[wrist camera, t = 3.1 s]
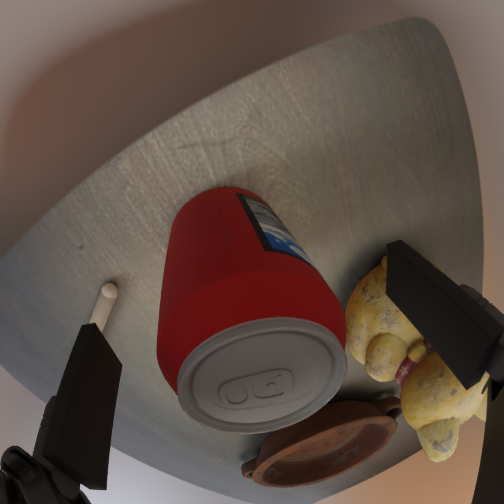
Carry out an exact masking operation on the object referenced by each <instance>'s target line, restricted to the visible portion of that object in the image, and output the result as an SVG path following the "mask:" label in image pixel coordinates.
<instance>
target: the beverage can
mask: <svg viewBox="0 0 504 504" xmlns="http://www.w3.org/2000/svg"><path fill="white" fill-rule="evenodd" d="M346 333H347V326H346V318H345V314H344V310H343V308H342V306H341V304H340V302H339V300H338V299H337V297H336V296H335V294H334V293H333V292H332V290H331V289H330V287H329V286H328V284H327V283H326V281H325V280H324V279H323V277H322V276H321V274H320V273H319V271H318V270H317V269H316V267H315V266H314V264H313V263H312V261H311V260H310V259H309V257H308V256H307V255H306V253H305V252H304V251H303V249H302V248H301V247H300V245H299V244H298V243H297V241H296V240H295V238H294V237H293V236H292V235H291V233H290V232H289V231H288V229H287V228H286V227H285V226H284V224H283V223H282V222H281V220H280V219H279V218H278V217H277V215H276V214H275V213H274V212H273V210H272V209H271V208H270V207H269V206H268V204H267V203H266V202H265V201H263V200H262V199H261V198H260V197H258V196H257V195H255V194H253V193H251V192H249V191H246V190H243V189H239V188H232V187H222V188H215V189H211V190H208V191H205V192H203V193H201V194H199V195H197V196H195V197H194V198H192V199H191V200H190V201H188V202H187V203H186V204H185V205H184V206H183V207H182V209H181V210H180V211H179V213H178V214H177V216H176V218H175V220H174V222H173V225H172V228H171V233H170V238H169V243H168V249H167V255H166V261H165V268H164V275H163V283H162V291H161V300H160V310H159V322H158V335H157V359H158V364H159V366H160V369H161V371H162V374H163V376H164V377H165V379H166V380H167V382H168V383H169V385H170V386H171V388H172V389H173V390H174V392H175V393H176V394H177V396H178V399H179V402H180V405H181V407H182V409H183V410H184V411H185V413H186V414H187V415H188V416H189V417H190V418H191V419H192V420H194V421H195V422H197V423H198V424H200V425H202V426H204V427H206V428H209V429H212V430H215V431H219V432H223V433H230V434H257V433H264V432H270V431H274V430H278V429H281V428H284V427H287V426H290V425H293V424H295V423H297V422H299V421H301V420H303V419H305V418H307V417H309V416H311V415H312V414H314V413H315V412H317V411H318V410H319V409H321V408H322V407H323V406H324V405H326V404H327V403H328V402H329V401H330V400H331V399H332V398H333V396H334V395H335V394H336V393H337V391H338V390H339V388H340V387H341V385H342V383H343V381H344V379H345V376H346V372H347V357H346V354H345V344H346Z"/></svg>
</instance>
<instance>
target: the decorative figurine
mask: <svg viewBox="0 0 504 504" xmlns="http://www.w3.org/2000/svg"><path fill="white" fill-rule="evenodd" d="M431 264H432V263H431ZM434 266H435V265H434ZM435 267H436V266H435ZM436 268H438V267H436ZM438 269H439V268H438ZM439 270H440V269H439ZM386 271H387V255H386V256H384V257H383V258H382V261H381V263H380V265H378V266H376V267H375V268H373V269H372V270H371V271H370V272H369V273H368V274H367V275H366V276H364V277H361V278H360V279H358V280H357V284H356V285H357V286H356V287H355V289H354V290H353V292H352V294H351V295H350V298H349V300H348V302H347V305H346V308H345V318H346V326H347V333H346V341H347V344H348V347H349V350H350V352H351V354H352V355H353V357H354V358H355V359H356V360H358V361H359V362H360V363H362V364H365V365H366V370H367V373H368V374H369V375H370V376H371V377H372V378H373V379H375V380H377V381H379V382H388V381H391V380H394V379H395V380H396V382H397V383H398V385H400V386H402V388H401V395H400V399H401V410H402V413H403V415H404V418H405V419H406V421H407V422H408V424H410V425H411V426H412V427H413V428H414V429H415V430H416V431H417V435H418V438H419V440H420V443H421V446H422V448H423V450H424V453H425V454H426V456H427V457H428V458H429V459H430V460H431V461H433V462H442V461H444V460H446V459H448V458H449V457H450V456H451V455H452V453H453V452H454V451H455V448H456V446H457V442H458V437H459V425H461V424H463V423H464V422H465V421H467V420H468V419H469V418H470V417H472V415H476V416H477V417H478V418H480V419H481V420H483V421H484V422H486V410H487V389H486V391H485V392H484V394H481V392H482V389H483V387H484V385H485V383H486V382H487V380H488V378H489V376H490V375H489V374H488V373H487V372H486V371H485V373H484V375H483V377H482V379H481V381H480V382H478V383H477V384H476V385H474V386H473V387H471V388H470V389H468V390H467V391H466V389H465V388H464V387H463V385H462V384H461V383H460V382H459V380H458V379H457V378H456V377H455V375H454V374H453V373H452V371H451V370H450V369H449V368H448V366H447V365H446V364H445V363H444V361H443V360H442V359H441V358H440V357H439V355H438V354H437V353H436V352H435V350H434V349H433V348H432V347H431V346H430V344H429V343H428V342H427V341H426V340H425V339H424V337H423V336H422V335H421V334H420V333H419V331H418V330H417V329H416V328H415V327H414V326H413V324H412V323H411V322H410V321H409V320H408V319H407V318H406V316H405V315H404V314H403V313H402V312H401V311H400V310H399V308H398V307H397V306H396V305H395V304H394V303H393V302H392V301H391V300H390V298H389V297H388V296H387V295H386V294H385V292H386ZM440 271H441V270H440ZM441 272H442V271H441ZM487 388H488V387H487Z"/></svg>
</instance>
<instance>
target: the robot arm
mask: <svg viewBox="0 0 504 504" xmlns="http://www.w3.org/2000/svg"><path fill="white" fill-rule="evenodd" d="M385 294H386V295H387V296H388V297H389V298H390V300H391V301H392V302H393V303H394V304H395V305H396V306H397V307H398V308H399V310H400V311H401V312H402V313H403V314H404V315H405V316H406V318H407V319H408V320H409V321H410V322H411V323H412V324H413V326H414V327H415V328H416V329H417V330H418V331H419V333H420V334H421V335H422V336H423V337H424V339H425V340H426V341H427V342H428V343H429V344H430V346H431V347H432V348H433V349H434V350H435V352H436V353H437V354H438V355H439V357H440V358H441V359H442V360H443V361H444V363H445V364H446V365H447V366H448V368H449V369H450V370H451V371H452V373H453V374H454V375H455V377H456V378H457V379H458V380H459V382H460V383H461V384H462V385H463V387H464V388H465V389H466V391H467V390H468V389H470V388H471V387H473V386H474V385H476V384H477V383H478V382H480V381H481V379H482V377H483V375H484V373H485V371H486V372H487V373H488V374H489V375H490V376H489V378H488V380H487V382H486V383H485V385H484V387H483V389H482V392H481V394H484V392H485V391H486V389H487V410H486V422H485V432H484V441H483V448H482V455H481V461H480V467H479V472H478V477H477V482H476V487H475V491H474V495H473V500H472V503H471V504H504V314H502V313H501V312H500V311H499V310H498V309H497V308H496V307H495V306H494V305H492V304H491V303H489V301H488V300H487V299H485V298H483V296H482V295H481V294H480V293H479V292H477V291H476V290H475V289H474V288H471V287H469V286H467V285H465V284H461V285H459V286H458V285H457V284H456V283H455V282H453V281H452V280H451V279H450V278H449V277H447V276H446V275H445V274H444V273H443V272H441V271H440V270H439V269H438V268H436V267H435V266H434V265H433V264H431V263H430V262H429V261H428V260H426V259H425V258H424V257H423V256H421V255H420V254H419V253H418V252H416V251H415V250H414V249H412V248H411V247H410V246H408V245H407V244H406V243H404V242H403V241H402V240H398V241H395V242H392V243H389V244H387V271H386V292H385ZM121 371H122V364H121V362H120V361H119V359H118V358H117V356H116V355H115V353H114V352H113V350H112V349H111V347H110V345H109V344H108V342H107V341H106V339H105V337H104V336H103V334H102V333H101V331H100V329H99V328H98V326H97V324H96V323H90V324H86V325H82V326H81V328H80V331H79V333H78V336H77V339H76V341H75V344H74V346H73V349H72V352H71V354H70V357H69V360H68V363H67V365H66V368H65V371H64V374H63V377H62V380H61V383H60V386H59V389H58V392H57V396H52V398H51V399H50V401H49V402H48V404H47V405H46V408H45V411H44V414H43V419H42V421H41V424H40V425H41V427H40V428H39V432H38V435H37V439H36V443H35V447H34V451H33V455H32V456H31V455H29V454H28V453H27V452H25V451H24V450H23V449H22V448H20V447H19V446H11V447H9V448H8V449H7V450H6V451H5V452H4V454H3V456H2V458H1V470H0V504H91V503H90V501H89V500H88V498H87V497H86V495H85V494H84V493H83V492H82V491H81V490H80V483H81V484H82V485H84V486H85V487H87V488H89V489H93V490H107V475H108V464H109V452H110V444H111V435H112V428H113V420H114V413H115V406H116V400H117V394H118V388H119V382H120V376H121ZM487 387H488V388H487ZM2 470H3V471H4V472H3V471H2ZM5 472H6V473H7V474H6V473H5Z"/></svg>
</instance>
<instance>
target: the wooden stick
mask: <svg viewBox="0 0 504 504" xmlns="http://www.w3.org/2000/svg"><path fill="white" fill-rule="evenodd" d="M117 295H118V290H117V287H116V286H115V285H114V284H112V283H107V284H105V285H103V287H102V288H101V291H100V294H99V296H98V299H97V301H96V304H95V307H94V310H93V312H92V315H91V318H90V321H89V324H90V323H96V324H97V326H98V328H99V329H100V331H101V333H102V331H103V329H104V326H105V324H106V321H107V319H108V316H109V314H110V312H111V309H112V307H113V304H114V302H115V300H116V297H117Z"/></svg>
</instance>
